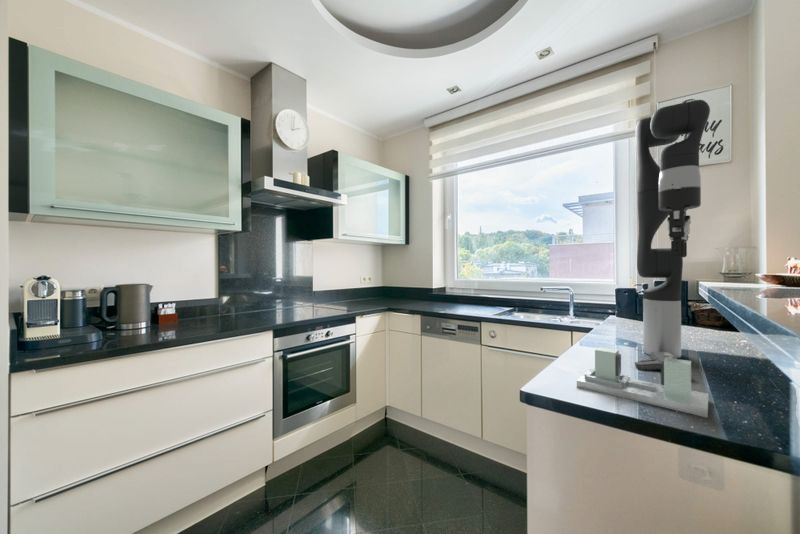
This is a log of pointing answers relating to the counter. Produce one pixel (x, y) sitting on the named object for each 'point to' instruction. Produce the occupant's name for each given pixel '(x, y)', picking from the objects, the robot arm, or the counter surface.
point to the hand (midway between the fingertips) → (679, 257)
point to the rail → (655, 388)
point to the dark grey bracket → (653, 361)
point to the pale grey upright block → (607, 363)
